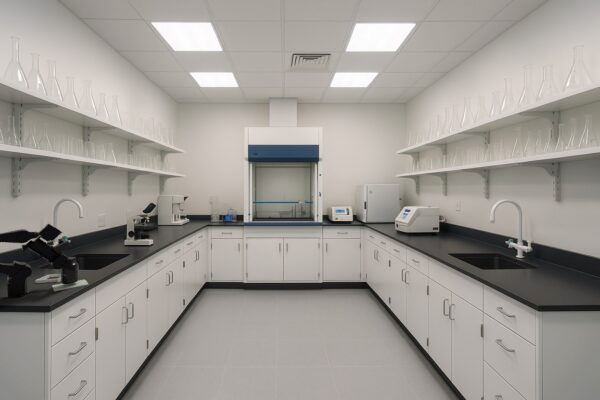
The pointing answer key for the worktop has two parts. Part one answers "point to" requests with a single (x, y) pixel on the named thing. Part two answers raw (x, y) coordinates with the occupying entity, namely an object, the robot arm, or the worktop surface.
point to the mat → (69, 285)
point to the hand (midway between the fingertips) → (73, 268)
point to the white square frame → (44, 279)
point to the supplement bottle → (70, 272)
